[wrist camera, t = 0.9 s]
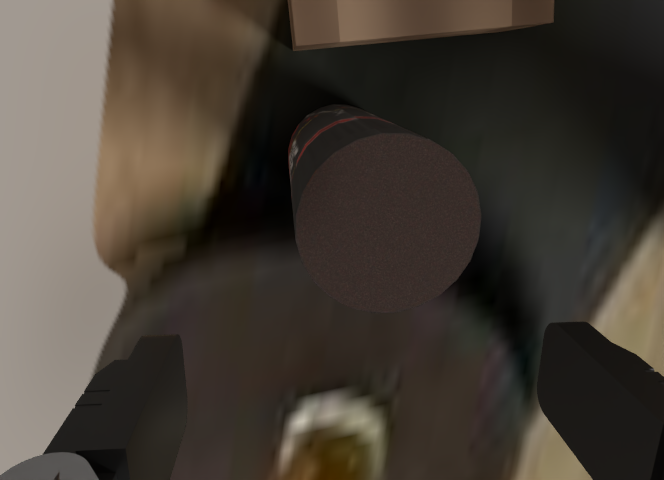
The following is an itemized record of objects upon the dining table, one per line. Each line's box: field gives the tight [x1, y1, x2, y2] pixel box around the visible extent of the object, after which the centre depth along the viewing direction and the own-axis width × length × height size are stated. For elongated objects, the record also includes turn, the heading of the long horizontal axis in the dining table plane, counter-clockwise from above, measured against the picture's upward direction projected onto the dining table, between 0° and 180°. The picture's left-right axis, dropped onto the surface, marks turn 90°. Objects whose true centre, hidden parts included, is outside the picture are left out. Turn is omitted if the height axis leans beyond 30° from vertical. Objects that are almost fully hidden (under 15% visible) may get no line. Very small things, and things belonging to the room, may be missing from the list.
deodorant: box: [288, 104, 481, 313], centre depth 23 cm, size 6×6×15 cm
